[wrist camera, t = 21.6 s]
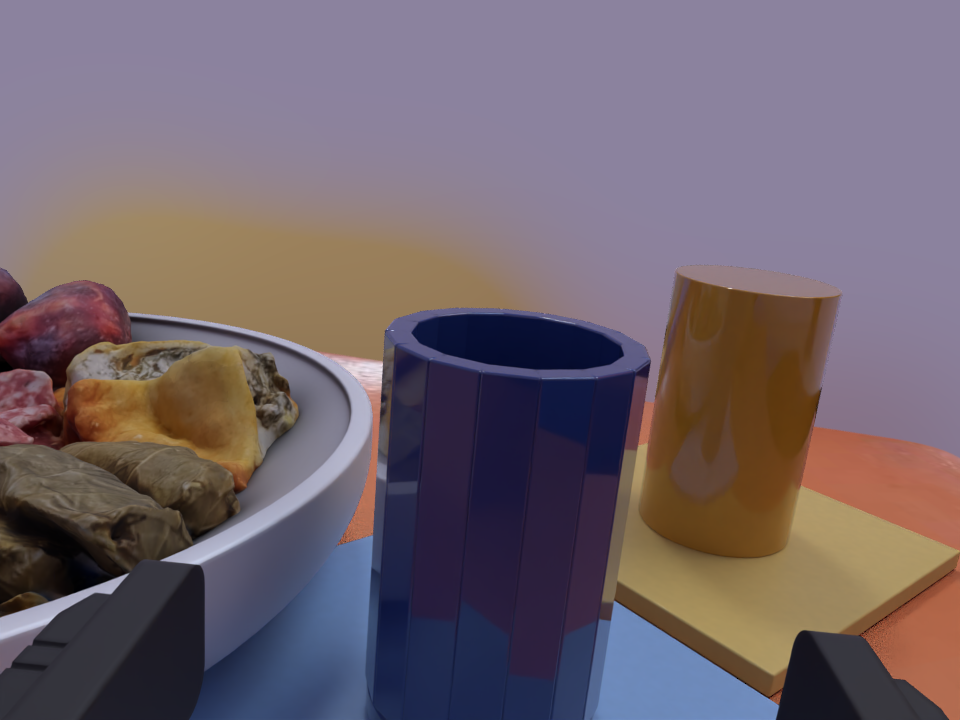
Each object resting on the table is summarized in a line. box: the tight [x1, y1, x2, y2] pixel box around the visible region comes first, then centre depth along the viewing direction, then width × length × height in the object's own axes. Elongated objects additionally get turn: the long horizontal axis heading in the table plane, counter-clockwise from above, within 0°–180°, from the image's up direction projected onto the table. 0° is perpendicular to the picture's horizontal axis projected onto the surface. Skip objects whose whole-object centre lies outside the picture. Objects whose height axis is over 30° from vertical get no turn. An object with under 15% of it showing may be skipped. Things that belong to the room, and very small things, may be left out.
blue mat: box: [189, 535, 779, 720], centre depth 22 cm, size 16×16×1 cm
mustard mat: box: [614, 443, 960, 697], centre depth 33 cm, size 14×14×1 cm
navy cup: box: [365, 308, 651, 720], centre depth 20 cm, size 6×6×10 cm
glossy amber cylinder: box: [638, 265, 842, 558], centre depth 32 cm, size 6×6×10 cm
